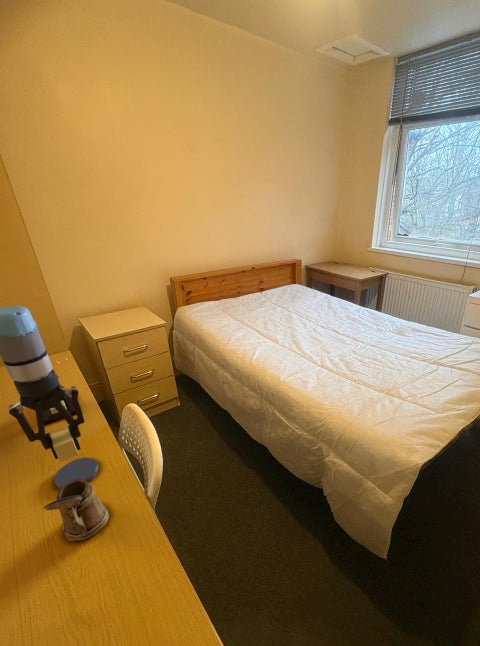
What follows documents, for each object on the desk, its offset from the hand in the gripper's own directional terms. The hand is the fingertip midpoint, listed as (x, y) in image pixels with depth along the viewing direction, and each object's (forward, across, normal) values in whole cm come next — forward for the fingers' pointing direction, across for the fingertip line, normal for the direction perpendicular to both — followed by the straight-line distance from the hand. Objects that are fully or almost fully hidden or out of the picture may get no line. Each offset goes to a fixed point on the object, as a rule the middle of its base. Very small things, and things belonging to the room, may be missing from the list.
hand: (67, 451), depth 83 cm
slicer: (+9, 0, -38) cm, 39 cm away
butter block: (0, 0, 0) cm, 0 cm away
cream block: (+7, 0, -32) cm, 33 cm away
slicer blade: (+1, 0, -33) cm, 33 cm away
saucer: (+9, 0, 0) cm, 9 cm away
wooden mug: (+9, +1, +20) cm, 22 cm away
